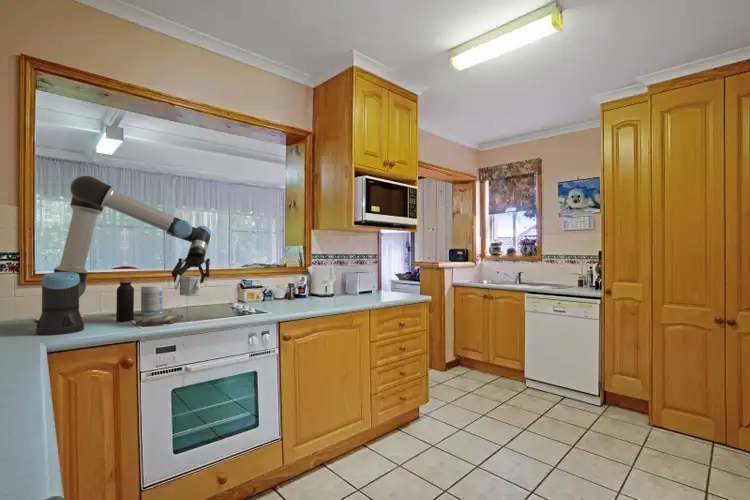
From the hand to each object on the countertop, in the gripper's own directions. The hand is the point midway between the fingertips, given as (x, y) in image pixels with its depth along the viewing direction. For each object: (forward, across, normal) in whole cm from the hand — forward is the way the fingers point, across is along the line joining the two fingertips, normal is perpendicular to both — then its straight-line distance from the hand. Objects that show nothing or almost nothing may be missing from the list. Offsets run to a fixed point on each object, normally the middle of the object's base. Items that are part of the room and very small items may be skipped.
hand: (186, 287), depth 171 cm
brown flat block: (+5, +14, -19) cm, 24 cm away
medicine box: (0, 0, -5) cm, 5 cm away
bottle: (+2, +31, -22) cm, 38 cm away
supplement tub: (-11, +26, -35) cm, 45 cm away
